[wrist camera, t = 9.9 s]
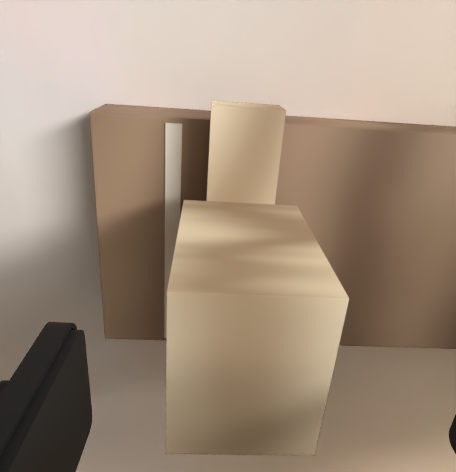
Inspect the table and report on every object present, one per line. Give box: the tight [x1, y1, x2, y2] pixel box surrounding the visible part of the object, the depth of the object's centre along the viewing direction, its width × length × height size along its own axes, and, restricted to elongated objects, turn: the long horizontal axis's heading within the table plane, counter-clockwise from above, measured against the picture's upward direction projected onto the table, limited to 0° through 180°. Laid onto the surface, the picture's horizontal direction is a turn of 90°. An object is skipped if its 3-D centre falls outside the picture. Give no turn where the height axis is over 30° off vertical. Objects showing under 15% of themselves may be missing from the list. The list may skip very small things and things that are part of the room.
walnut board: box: [90, 104, 456, 349], centre depth 19 cm, size 23×10×3 cm, turn 86°
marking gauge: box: [166, 101, 349, 456], centre depth 15 cm, size 4×14×10 cm, turn 176°
